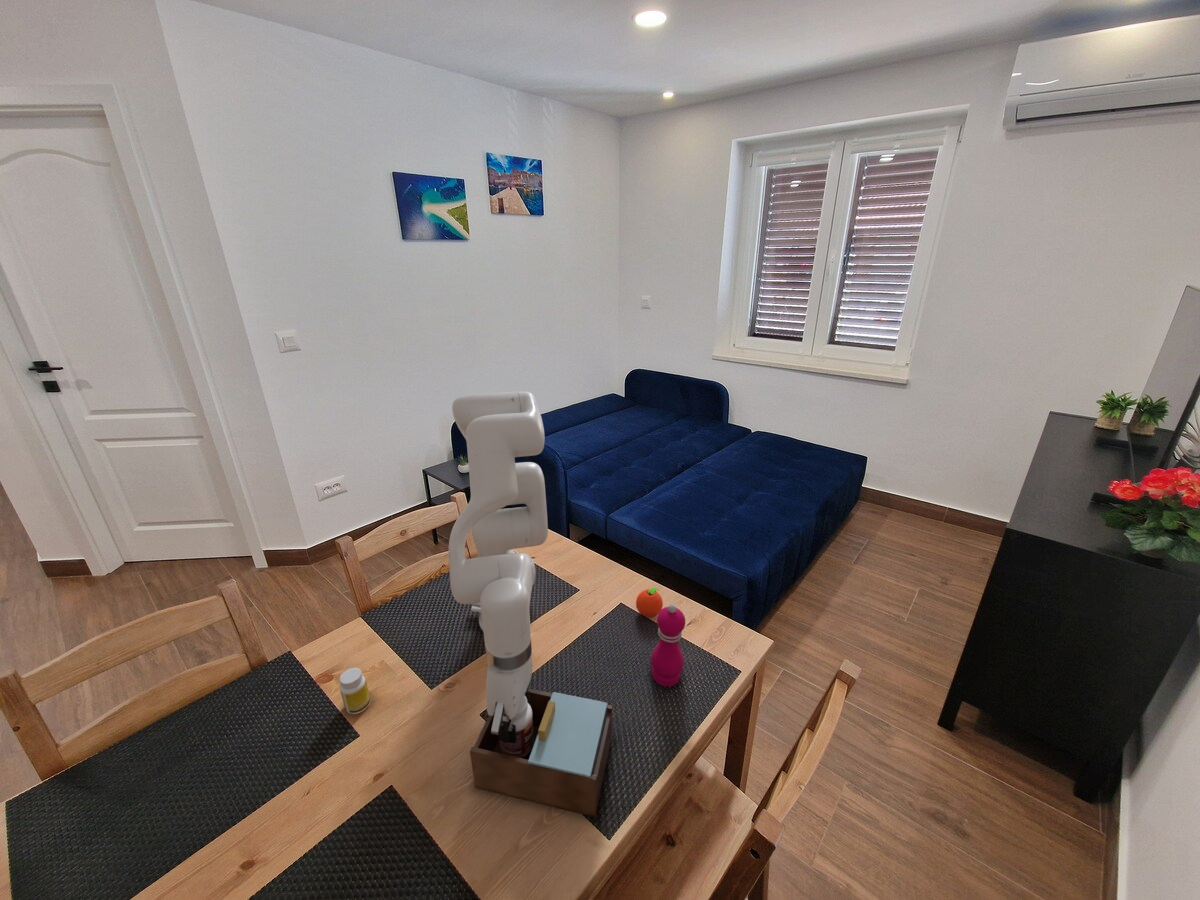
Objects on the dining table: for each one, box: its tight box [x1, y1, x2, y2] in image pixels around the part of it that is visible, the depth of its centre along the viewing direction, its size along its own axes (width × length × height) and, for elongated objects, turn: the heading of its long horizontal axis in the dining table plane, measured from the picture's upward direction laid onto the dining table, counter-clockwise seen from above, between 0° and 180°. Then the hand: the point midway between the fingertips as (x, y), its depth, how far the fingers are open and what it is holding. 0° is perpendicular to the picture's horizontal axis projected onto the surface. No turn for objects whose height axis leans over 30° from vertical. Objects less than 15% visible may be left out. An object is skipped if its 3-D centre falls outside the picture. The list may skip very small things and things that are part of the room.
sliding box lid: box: [528, 691, 608, 778], centre depth 85 cm, size 11×14×3 cm
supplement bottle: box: [339, 667, 371, 715], centre depth 99 cm, size 5×5×8 cm
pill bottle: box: [500, 695, 534, 758], centre depth 88 cm, size 6×6×11 cm
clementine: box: [635, 587, 664, 618], centre depth 126 cm, size 8×7×7 cm
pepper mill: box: [650, 603, 686, 687], centre depth 105 cm, size 7×7×20 cm
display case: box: [469, 688, 613, 818], centre depth 88 cm, size 22×14×10 cm, turn 78°
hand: (514, 722), depth 88 cm, fingers closed on pill bottle, 6 cm apart
